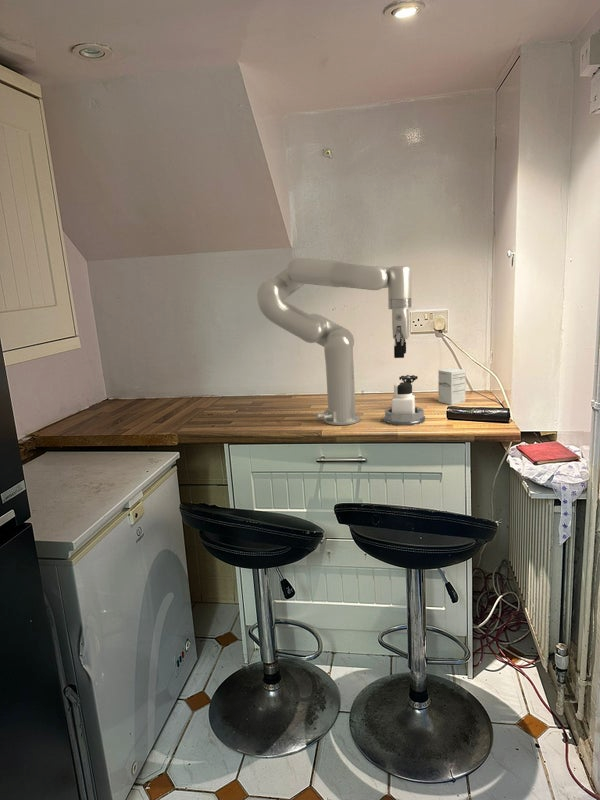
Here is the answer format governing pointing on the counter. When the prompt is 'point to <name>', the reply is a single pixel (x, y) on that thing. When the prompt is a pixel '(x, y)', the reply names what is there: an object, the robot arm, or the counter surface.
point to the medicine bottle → (403, 399)
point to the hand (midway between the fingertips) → (400, 355)
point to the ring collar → (404, 417)
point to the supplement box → (452, 386)
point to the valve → (408, 379)
